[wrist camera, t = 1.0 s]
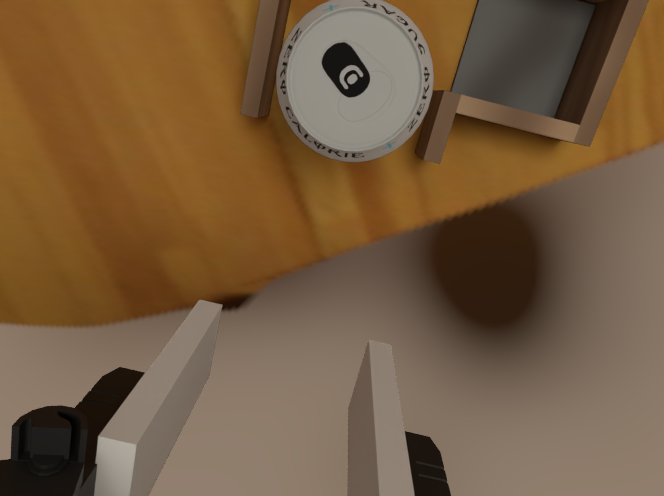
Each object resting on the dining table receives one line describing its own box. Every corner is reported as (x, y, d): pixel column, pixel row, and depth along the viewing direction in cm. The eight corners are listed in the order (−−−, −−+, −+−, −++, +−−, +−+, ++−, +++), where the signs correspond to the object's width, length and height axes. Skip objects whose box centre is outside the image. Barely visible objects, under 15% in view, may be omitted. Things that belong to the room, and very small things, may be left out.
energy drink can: (344, 153, 32) (337, 200, 18) (287, 78, 31) (233, 64, 17) (418, 96, 31) (475, 99, 17) (363, 15, 30) (374, -57, 16)
